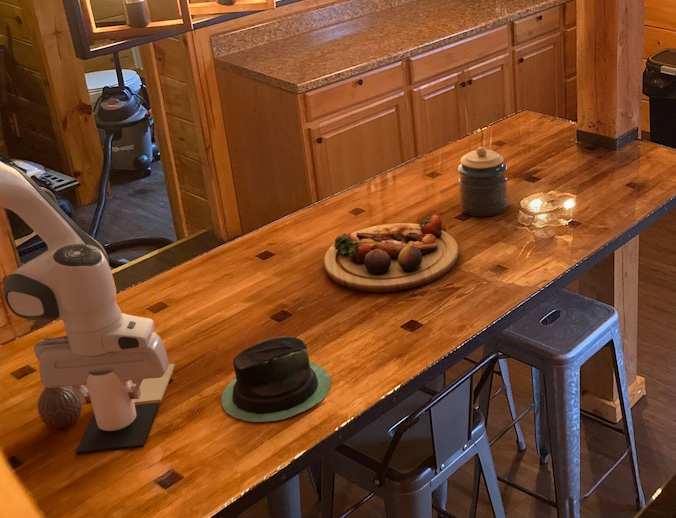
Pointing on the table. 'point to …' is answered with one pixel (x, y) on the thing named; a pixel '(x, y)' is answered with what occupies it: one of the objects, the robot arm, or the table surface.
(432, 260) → the wooden plate
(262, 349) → the fedora hat
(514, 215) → the table surface
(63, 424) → the vase
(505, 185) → the canister
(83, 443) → the sorting mat
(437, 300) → the table surface
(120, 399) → the can
